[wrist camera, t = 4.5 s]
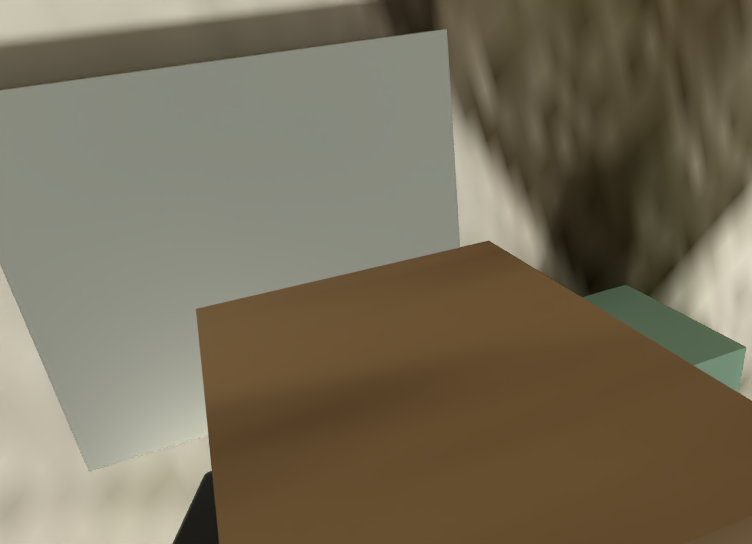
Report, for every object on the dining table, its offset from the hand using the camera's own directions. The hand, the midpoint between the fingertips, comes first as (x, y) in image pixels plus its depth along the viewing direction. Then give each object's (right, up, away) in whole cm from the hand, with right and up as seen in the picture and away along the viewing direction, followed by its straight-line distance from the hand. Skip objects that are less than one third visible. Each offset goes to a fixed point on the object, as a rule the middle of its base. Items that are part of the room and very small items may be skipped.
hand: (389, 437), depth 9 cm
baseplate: (-4, +3, +10) cm, 11 cm away
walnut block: (0, 0, +1) cm, 1 cm away
